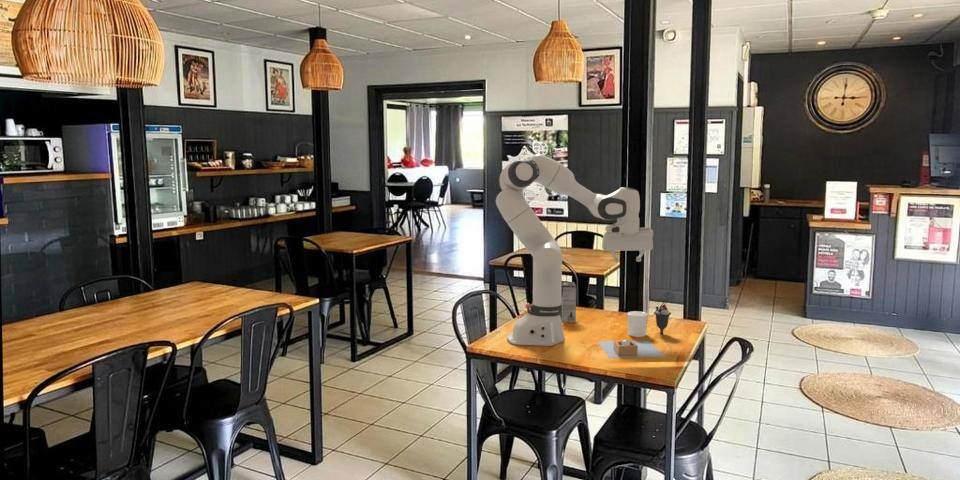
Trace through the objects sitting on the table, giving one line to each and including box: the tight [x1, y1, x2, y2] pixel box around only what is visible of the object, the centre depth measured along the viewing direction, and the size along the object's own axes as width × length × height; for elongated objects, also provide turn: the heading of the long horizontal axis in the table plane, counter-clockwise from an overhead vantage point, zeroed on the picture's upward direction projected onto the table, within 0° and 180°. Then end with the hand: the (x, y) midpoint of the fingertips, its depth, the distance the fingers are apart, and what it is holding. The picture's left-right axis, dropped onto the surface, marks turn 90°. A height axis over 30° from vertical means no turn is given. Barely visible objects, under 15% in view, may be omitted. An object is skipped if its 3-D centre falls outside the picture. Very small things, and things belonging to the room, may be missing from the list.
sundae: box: [653, 301, 672, 336], centre depth 262 cm, size 7×7×15 cm
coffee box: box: [561, 281, 577, 323], centre depth 291 cm, size 9×6×16 cm
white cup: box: [626, 310, 649, 338], centre depth 262 cm, size 8×8×10 cm
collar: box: [613, 340, 638, 356], centre depth 238 cm, size 7×7×4 cm
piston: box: [620, 339, 631, 346], centre depth 237 cm, size 3×3×4 cm
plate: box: [596, 340, 666, 359], centre depth 243 cm, size 20×20×2 cm
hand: (627, 261), depth 268 cm, fingers open, 8 cm apart
